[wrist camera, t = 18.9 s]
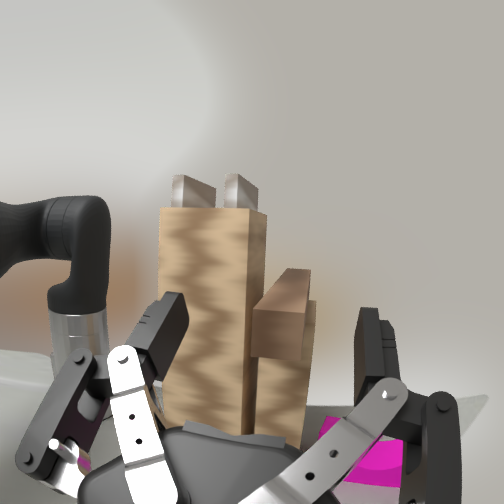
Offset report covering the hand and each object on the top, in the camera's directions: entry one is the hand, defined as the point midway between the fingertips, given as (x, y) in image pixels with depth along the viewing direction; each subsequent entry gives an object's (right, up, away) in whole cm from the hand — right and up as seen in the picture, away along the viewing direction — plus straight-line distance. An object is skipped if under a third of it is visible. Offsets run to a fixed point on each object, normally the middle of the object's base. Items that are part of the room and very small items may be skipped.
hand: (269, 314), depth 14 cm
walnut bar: (+3, -3, +17) cm, 18 cm away
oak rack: (-3, -24, +22) cm, 32 cm away
